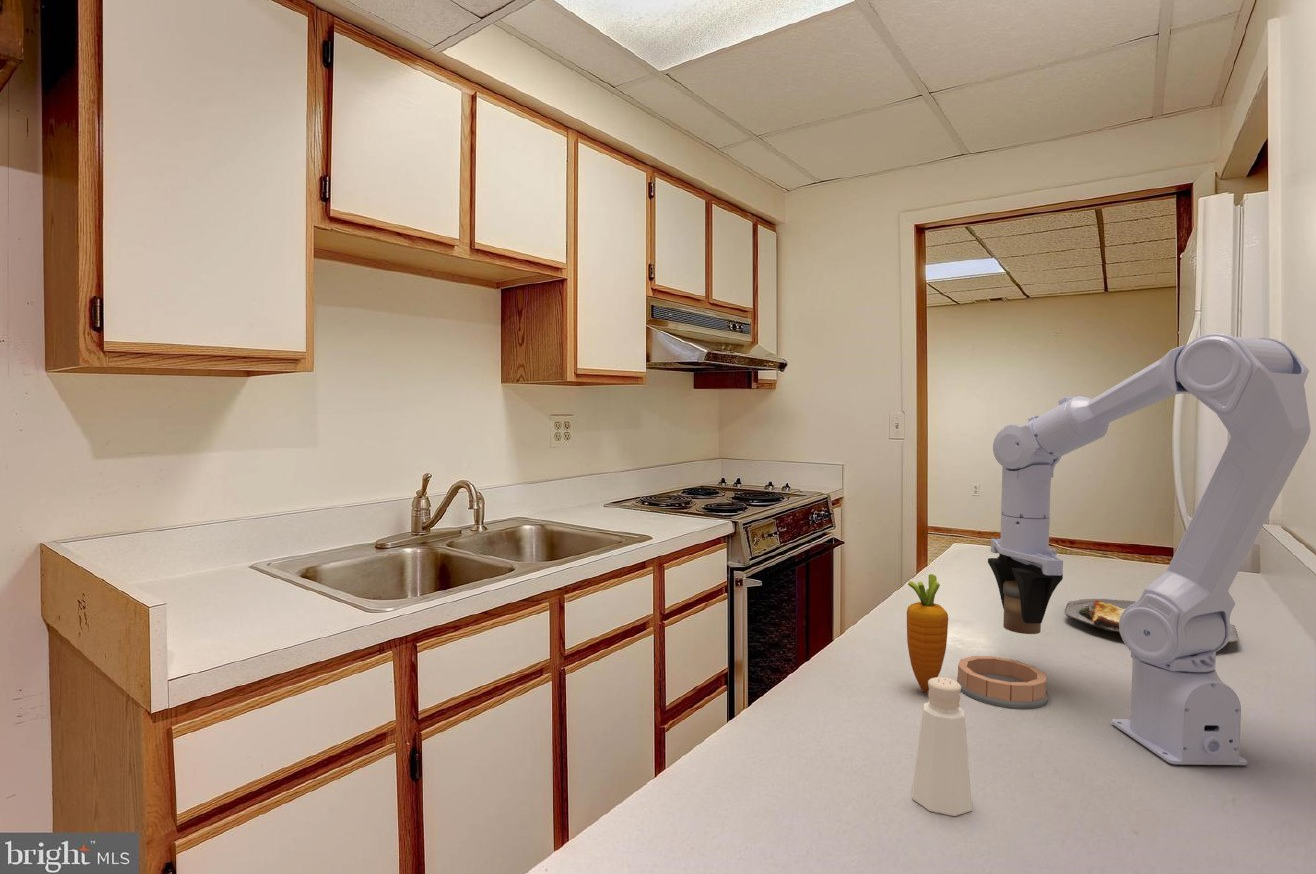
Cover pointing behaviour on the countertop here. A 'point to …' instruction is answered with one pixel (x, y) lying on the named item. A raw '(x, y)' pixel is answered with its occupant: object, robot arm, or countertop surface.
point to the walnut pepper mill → (1016, 611)
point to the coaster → (1002, 682)
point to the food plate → (1108, 614)
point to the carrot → (926, 633)
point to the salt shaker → (942, 752)
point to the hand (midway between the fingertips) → (1022, 616)
